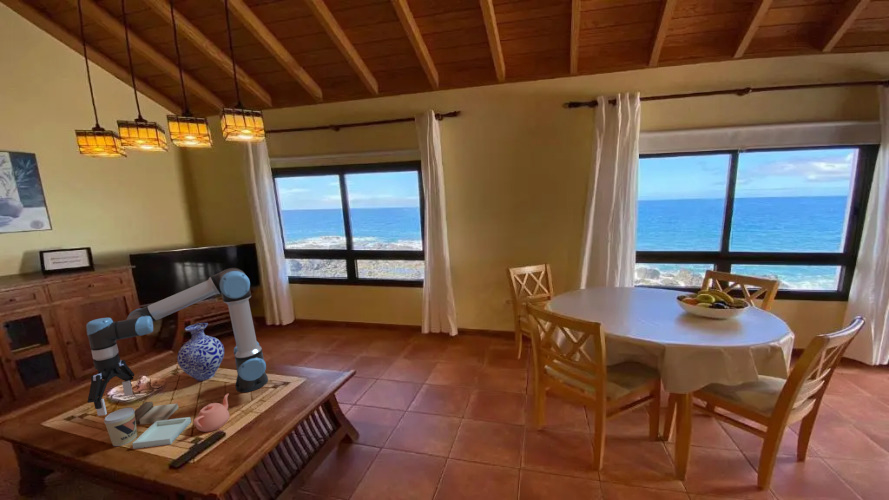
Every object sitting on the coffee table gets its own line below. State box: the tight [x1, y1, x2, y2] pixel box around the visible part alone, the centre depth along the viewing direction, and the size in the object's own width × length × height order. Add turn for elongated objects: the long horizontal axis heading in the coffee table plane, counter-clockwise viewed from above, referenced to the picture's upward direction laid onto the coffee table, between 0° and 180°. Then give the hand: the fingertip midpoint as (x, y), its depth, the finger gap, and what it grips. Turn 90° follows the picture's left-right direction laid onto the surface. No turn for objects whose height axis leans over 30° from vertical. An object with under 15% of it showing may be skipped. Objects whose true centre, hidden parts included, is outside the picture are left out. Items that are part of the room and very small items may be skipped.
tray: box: [131, 416, 192, 450], centre depth 147 cm, size 14×14×2 cm
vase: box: [177, 322, 225, 382], centre depth 192 cm, size 22×22×30 cm
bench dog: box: [134, 401, 154, 426], centre depth 159 cm, size 3×10×5 cm, turn 7°
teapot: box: [192, 393, 230, 433], centre depth 153 cm, size 12×18×10 cm
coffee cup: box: [103, 407, 138, 447], centre depth 144 cm, size 9×9×12 cm
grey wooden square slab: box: [139, 403, 179, 425], centre depth 160 cm, size 10×10×3 cm
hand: (116, 404), depth 142 cm, fingers open, 13 cm apart
